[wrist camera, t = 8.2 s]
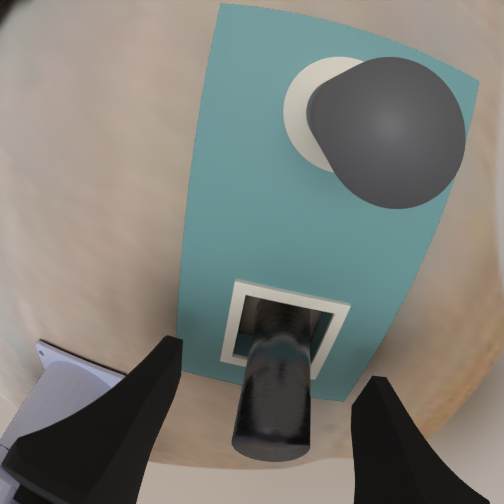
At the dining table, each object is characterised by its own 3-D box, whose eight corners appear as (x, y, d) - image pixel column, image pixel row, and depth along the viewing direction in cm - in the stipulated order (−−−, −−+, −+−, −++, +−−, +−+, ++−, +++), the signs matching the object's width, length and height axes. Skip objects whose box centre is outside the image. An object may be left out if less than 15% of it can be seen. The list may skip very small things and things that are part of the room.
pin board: (341, 381, 16) (349, 493, 10) (183, 348, 17) (140, 458, 10) (460, 81, 9) (592, 92, 3) (229, 14, 9) (151, -71, 3)
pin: (301, 334, 15) (297, 465, 9) (252, 325, 15) (227, 454, 9) (315, 295, 14) (321, 434, 8) (262, 284, 14) (236, 421, 8)
